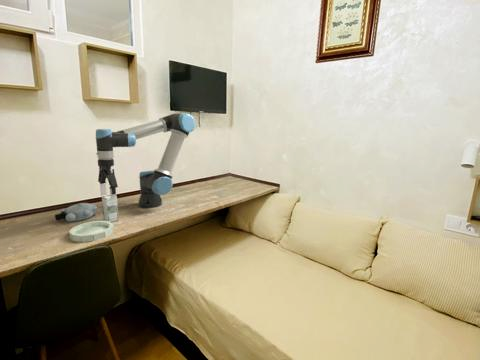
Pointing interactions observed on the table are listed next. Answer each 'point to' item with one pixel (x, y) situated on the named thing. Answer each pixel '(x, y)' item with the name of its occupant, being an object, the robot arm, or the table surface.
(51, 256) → the table surface
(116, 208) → the syrup box
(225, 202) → the table surface
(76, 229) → the round bowl
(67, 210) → the figurine
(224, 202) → the table surface
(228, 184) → the table surface
